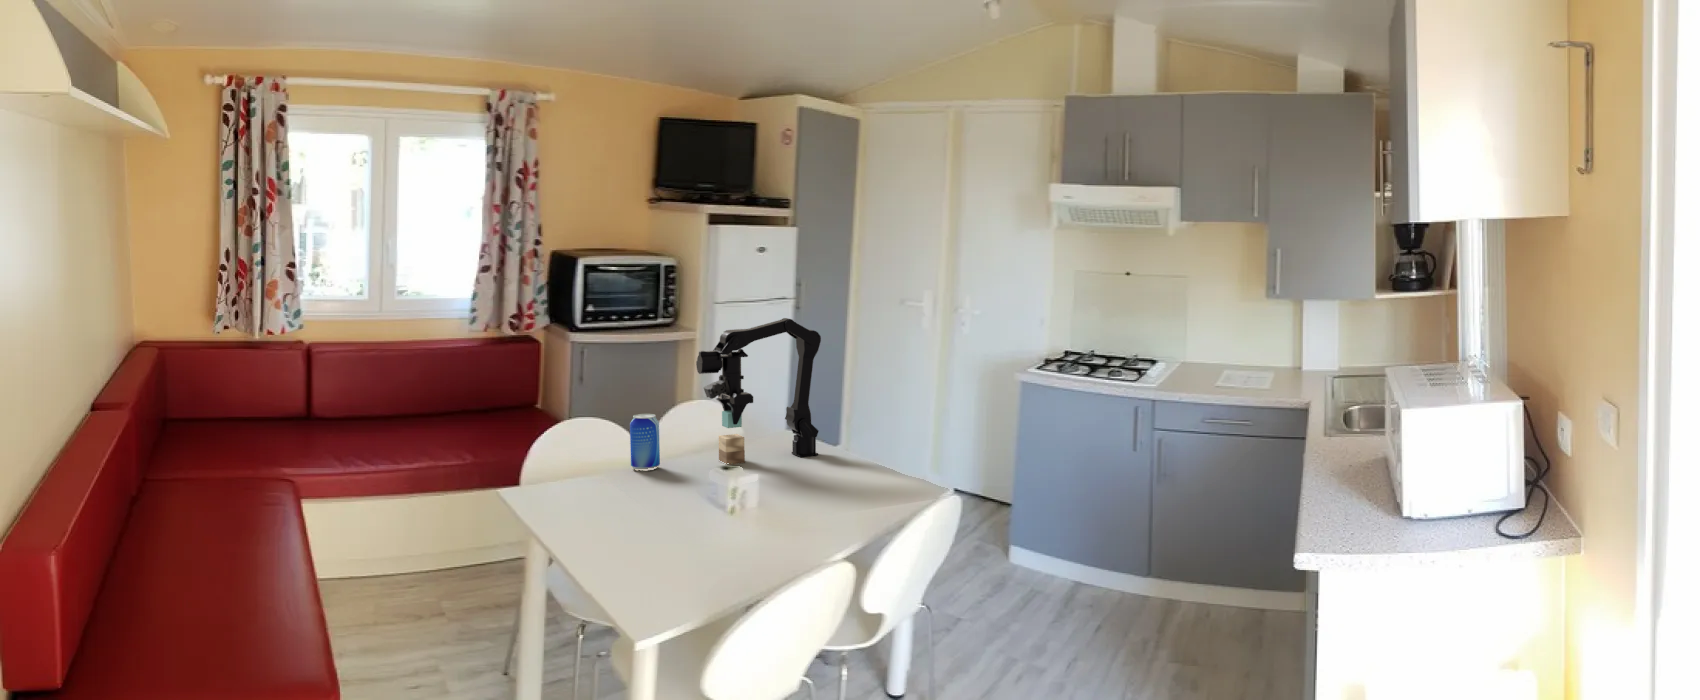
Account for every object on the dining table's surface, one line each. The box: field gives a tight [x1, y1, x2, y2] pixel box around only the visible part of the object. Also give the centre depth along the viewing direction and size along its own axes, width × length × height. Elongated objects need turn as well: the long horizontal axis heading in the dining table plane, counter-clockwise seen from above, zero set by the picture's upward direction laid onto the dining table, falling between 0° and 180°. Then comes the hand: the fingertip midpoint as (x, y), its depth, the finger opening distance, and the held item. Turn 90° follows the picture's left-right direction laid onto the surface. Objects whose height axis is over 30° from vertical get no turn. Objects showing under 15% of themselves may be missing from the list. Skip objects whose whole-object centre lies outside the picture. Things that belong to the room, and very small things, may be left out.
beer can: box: [629, 413, 661, 470], centre depth 303 cm, size 8×8×16 cm
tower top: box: [718, 433, 745, 452], centre depth 312 cm, size 6×6×4 cm
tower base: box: [718, 448, 746, 465], centre depth 313 cm, size 6×6×4 cm
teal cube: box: [721, 410, 743, 429], centre depth 311 cm, size 4×4×4 cm
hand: (732, 423), depth 311 cm, fingers closed on teal cube, 4 cm apart
